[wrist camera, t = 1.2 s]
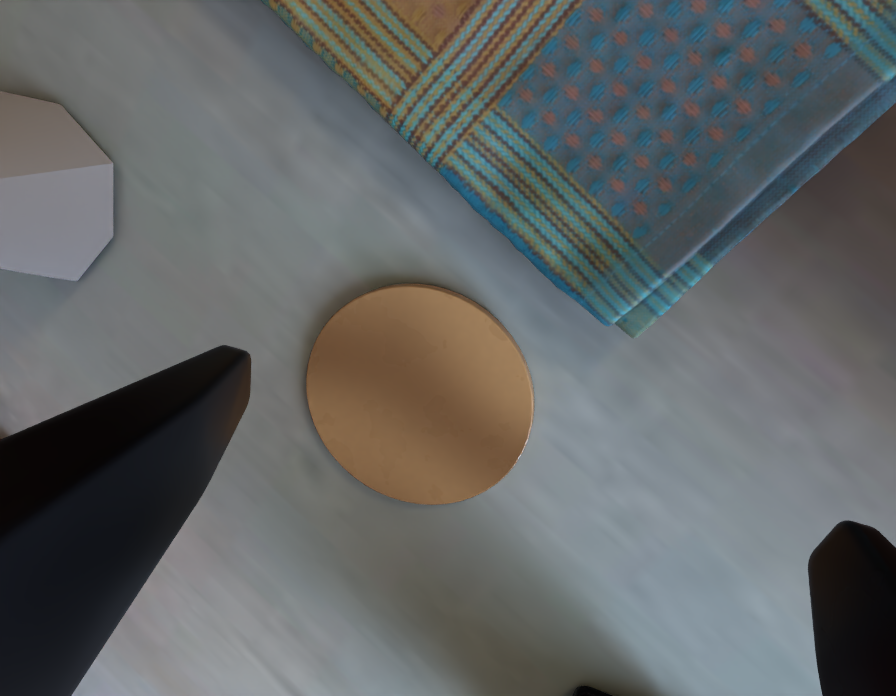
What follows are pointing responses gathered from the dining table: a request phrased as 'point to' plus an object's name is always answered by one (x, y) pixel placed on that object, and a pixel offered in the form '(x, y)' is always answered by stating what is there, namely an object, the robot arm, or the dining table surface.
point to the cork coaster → (420, 394)
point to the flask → (51, 191)
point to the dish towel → (616, 119)
